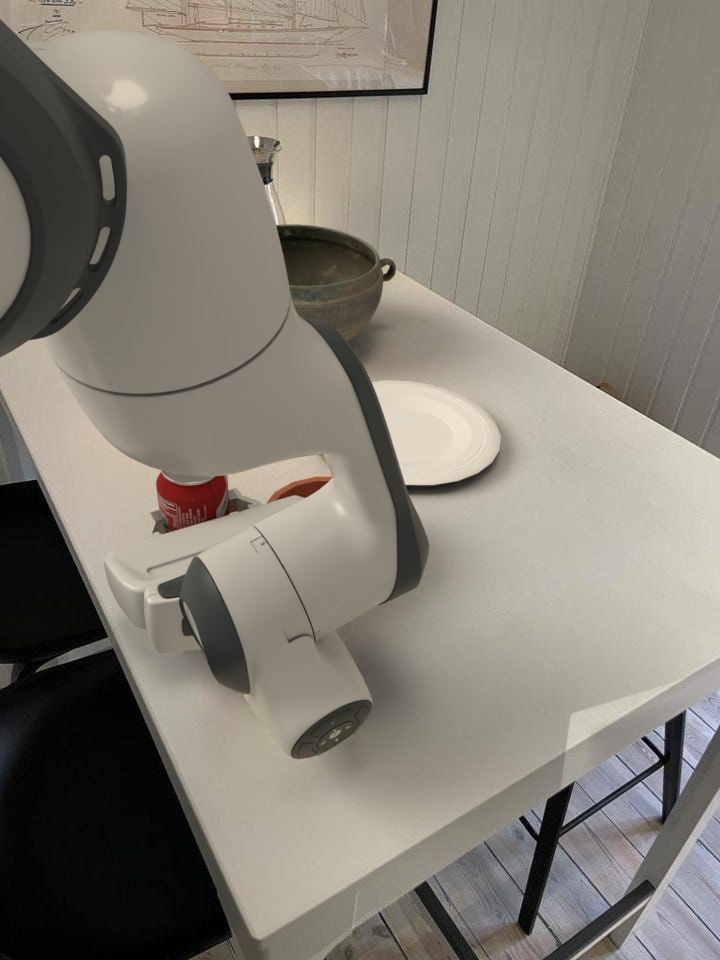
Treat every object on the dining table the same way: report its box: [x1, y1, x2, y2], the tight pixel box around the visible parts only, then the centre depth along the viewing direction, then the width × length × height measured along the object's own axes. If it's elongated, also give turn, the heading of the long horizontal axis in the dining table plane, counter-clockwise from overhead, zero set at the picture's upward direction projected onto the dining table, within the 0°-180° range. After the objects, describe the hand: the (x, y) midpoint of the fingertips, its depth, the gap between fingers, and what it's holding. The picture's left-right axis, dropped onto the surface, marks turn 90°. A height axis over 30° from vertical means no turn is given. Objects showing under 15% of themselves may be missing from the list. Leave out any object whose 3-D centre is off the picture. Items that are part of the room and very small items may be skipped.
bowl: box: [276, 223, 397, 342], centre depth 116 cm, size 32×26×15 cm
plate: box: [371, 379, 502, 487], centre depth 100 cm, size 25×25×2 cm
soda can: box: [155, 470, 231, 535], centre depth 75 cm, size 7×7×12 cm
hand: (191, 505), depth 75 cm, fingers closed on soda can, 7 cm apart
